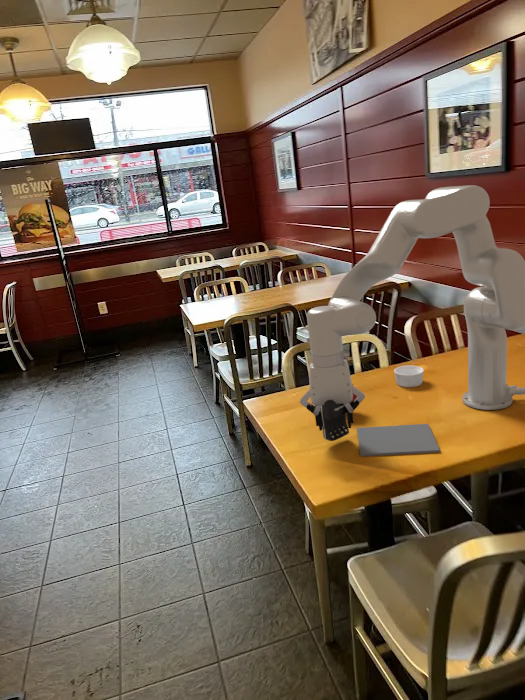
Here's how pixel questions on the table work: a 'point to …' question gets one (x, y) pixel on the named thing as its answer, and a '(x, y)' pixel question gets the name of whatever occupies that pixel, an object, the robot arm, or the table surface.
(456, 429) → the table surface
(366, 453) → the mat
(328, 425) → the battery charger
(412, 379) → the ramekin
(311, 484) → the table surface
